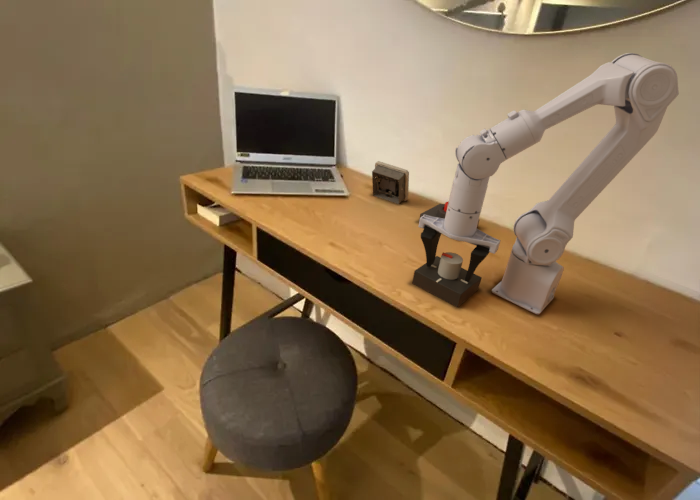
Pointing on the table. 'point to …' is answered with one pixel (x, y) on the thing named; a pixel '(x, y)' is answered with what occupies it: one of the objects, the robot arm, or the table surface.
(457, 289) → the dial panel
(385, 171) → the electrical switch
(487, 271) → the table surface
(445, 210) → the power button
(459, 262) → the dial
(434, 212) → the button block
